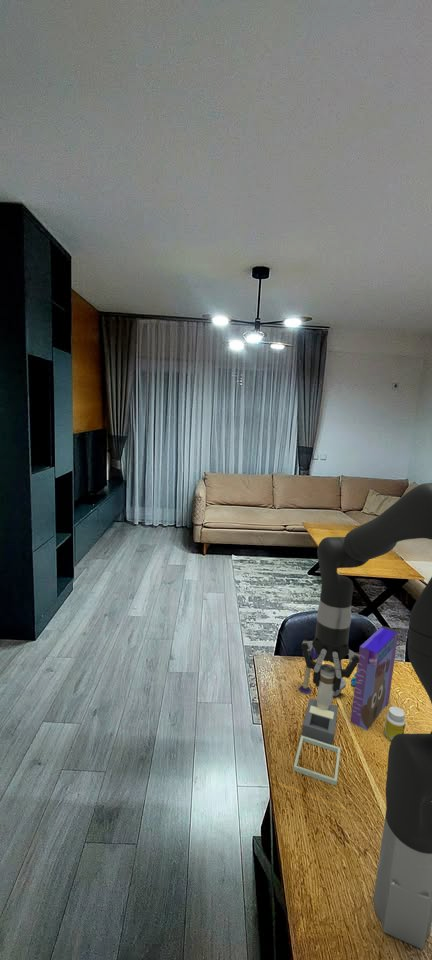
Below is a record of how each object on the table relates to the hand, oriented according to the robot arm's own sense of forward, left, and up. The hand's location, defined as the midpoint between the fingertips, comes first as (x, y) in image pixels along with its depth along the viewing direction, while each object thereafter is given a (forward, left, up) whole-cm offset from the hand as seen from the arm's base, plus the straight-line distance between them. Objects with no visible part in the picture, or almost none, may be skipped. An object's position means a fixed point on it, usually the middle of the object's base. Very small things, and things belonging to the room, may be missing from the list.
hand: (326, 687), depth 101 cm
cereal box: (+26, -12, -21) cm, 35 cm away
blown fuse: (0, 0, -4) cm, 4 cm away
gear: (+38, -9, -21) cm, 45 cm away
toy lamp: (+27, +7, -21) cm, 35 cm away
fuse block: (+13, +1, -21) cm, 25 cm away
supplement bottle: (+18, -18, -21) cm, 33 cm away
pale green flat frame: (0, 0, -21) cm, 21 cm away
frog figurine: (+30, -1, -21) cm, 36 cm away
